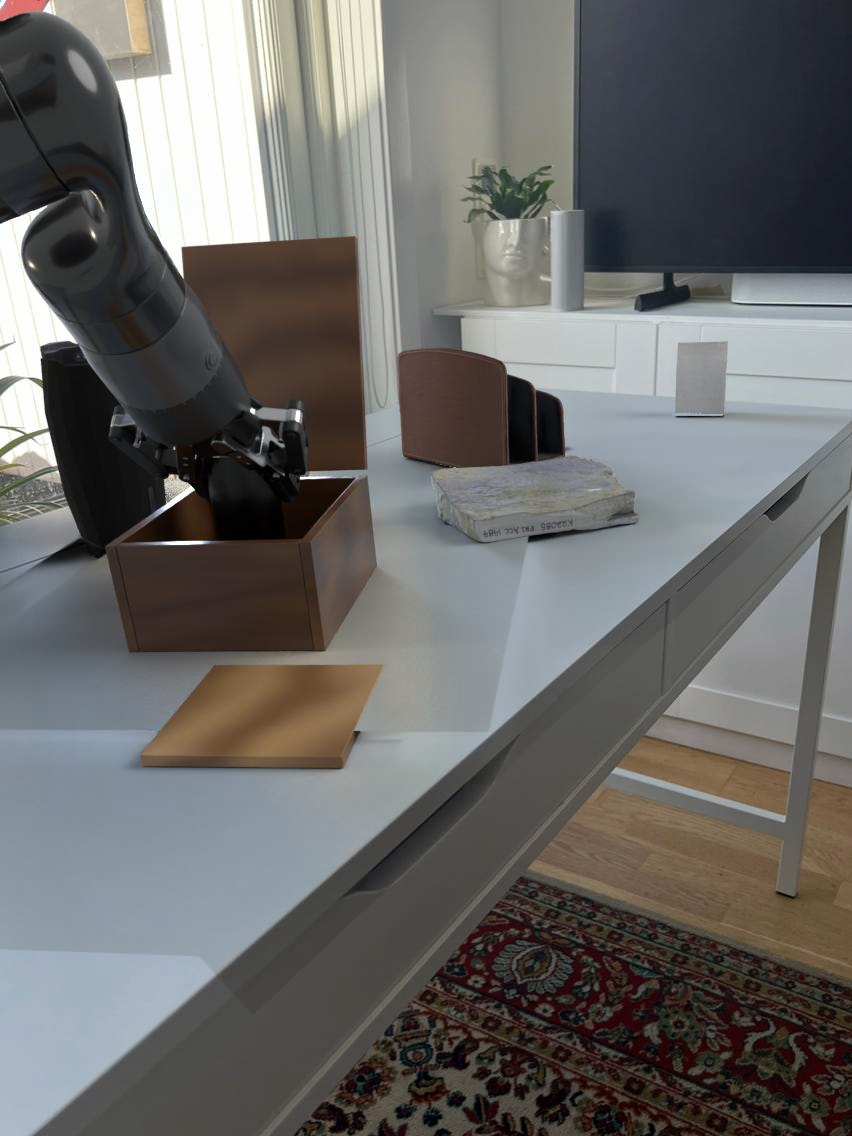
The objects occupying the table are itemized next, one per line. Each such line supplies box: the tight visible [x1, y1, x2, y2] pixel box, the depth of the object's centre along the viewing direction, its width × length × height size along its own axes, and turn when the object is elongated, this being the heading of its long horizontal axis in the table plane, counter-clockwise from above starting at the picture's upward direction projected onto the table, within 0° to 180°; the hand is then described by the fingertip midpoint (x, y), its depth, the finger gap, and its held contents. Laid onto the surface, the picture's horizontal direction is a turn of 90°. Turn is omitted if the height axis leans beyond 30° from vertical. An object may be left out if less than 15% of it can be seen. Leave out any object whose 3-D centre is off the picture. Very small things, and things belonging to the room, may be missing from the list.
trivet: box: [139, 663, 385, 769], centre depth 60 cm, size 12×12×1 cm
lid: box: [180, 235, 368, 473], centre depth 79 cm, size 18×15×1 cm
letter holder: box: [396, 347, 566, 468], centre depth 116 cm, size 10×20×14 cm, turn 42°
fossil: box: [429, 455, 640, 543], centre depth 97 cm, size 20×5×17 cm
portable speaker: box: [39, 340, 167, 558], centre depth 91 cm, size 9×9×20 cm
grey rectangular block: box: [674, 340, 729, 415], centre depth 135 cm, size 4×7×10 cm, turn 75°
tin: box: [203, 452, 287, 541], centre depth 73 cm, size 5×5×12 cm
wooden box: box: [105, 474, 378, 653], centre depth 75 cm, size 18×15×9 cm
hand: (253, 492), depth 74 cm, fingers closed on tin, 5 cm apart
